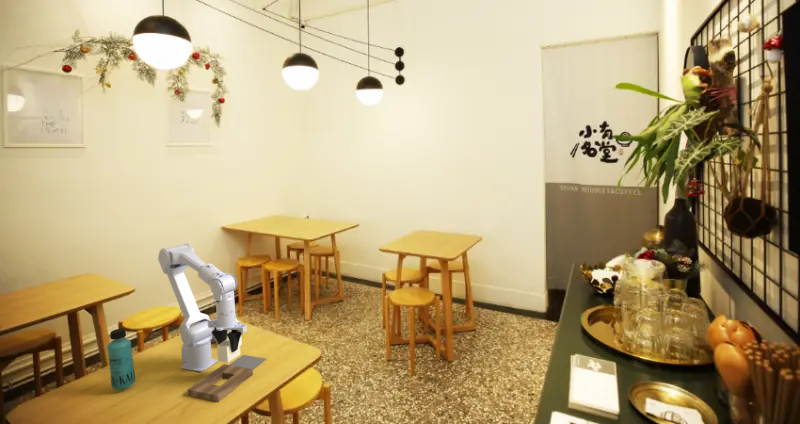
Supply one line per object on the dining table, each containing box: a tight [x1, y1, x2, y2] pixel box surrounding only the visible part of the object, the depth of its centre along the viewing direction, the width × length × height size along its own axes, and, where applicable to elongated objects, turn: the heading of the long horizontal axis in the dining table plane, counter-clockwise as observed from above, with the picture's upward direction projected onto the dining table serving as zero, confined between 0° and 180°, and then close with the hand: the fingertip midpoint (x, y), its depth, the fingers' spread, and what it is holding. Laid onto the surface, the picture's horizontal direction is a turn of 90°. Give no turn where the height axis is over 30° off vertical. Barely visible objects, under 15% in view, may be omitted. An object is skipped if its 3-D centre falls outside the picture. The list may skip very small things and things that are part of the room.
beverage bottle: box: [107, 328, 136, 391], centre depth 132 cm, size 6×7×20 cm
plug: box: [216, 338, 242, 364], centre depth 138 cm, size 4×6×6 cm, turn 161°
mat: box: [229, 354, 267, 370], centre depth 148 cm, size 10×8×1 cm
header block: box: [186, 363, 254, 403], centre depth 134 cm, size 12×16×2 cm
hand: (229, 349), depth 138 cm, fingers closed on plug, 4 cm apart
